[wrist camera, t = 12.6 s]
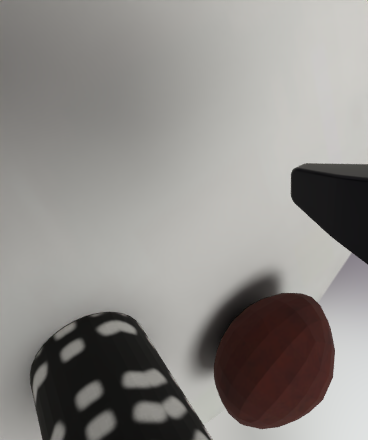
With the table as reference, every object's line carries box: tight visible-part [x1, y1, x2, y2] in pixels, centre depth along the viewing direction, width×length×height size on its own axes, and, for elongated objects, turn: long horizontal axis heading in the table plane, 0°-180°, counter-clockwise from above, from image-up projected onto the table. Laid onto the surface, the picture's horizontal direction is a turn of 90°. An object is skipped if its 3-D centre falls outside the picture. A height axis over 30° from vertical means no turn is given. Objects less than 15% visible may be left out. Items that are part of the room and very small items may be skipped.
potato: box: [214, 293, 335, 429], centre depth 29 cm, size 9×12×9 cm
